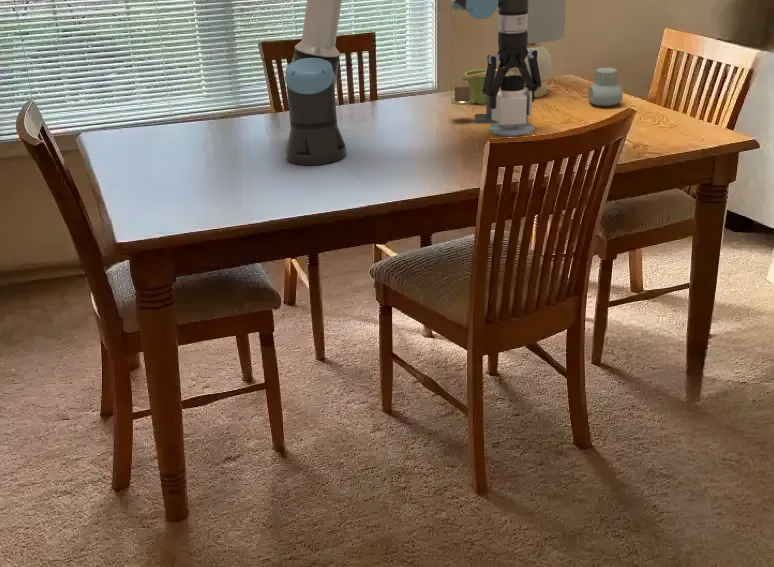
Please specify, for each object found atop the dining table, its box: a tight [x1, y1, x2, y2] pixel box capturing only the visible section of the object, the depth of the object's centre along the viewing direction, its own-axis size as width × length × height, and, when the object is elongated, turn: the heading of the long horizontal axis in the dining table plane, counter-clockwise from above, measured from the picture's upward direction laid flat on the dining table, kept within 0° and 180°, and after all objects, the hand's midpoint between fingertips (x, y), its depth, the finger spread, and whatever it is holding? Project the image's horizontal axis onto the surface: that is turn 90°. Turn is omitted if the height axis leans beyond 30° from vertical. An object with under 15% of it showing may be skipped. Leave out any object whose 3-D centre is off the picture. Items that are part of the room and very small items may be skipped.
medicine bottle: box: [497, 74, 528, 125], centre depth 227 cm, size 7×7×12 cm
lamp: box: [496, 0, 567, 98], centre depth 257 cm, size 20×20×35 cm
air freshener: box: [587, 67, 624, 107], centre depth 247 cm, size 11×8×10 cm
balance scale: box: [450, 67, 528, 124], centre depth 237 cm, size 21×6×15 cm, turn 84°
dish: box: [488, 122, 536, 137], centre depth 230 cm, size 12×12×1 cm
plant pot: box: [464, 69, 496, 105], centre depth 257 cm, size 9×9×9 cm
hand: (511, 117), depth 229 cm, fingers closed on medicine bottle, 9 cm apart
